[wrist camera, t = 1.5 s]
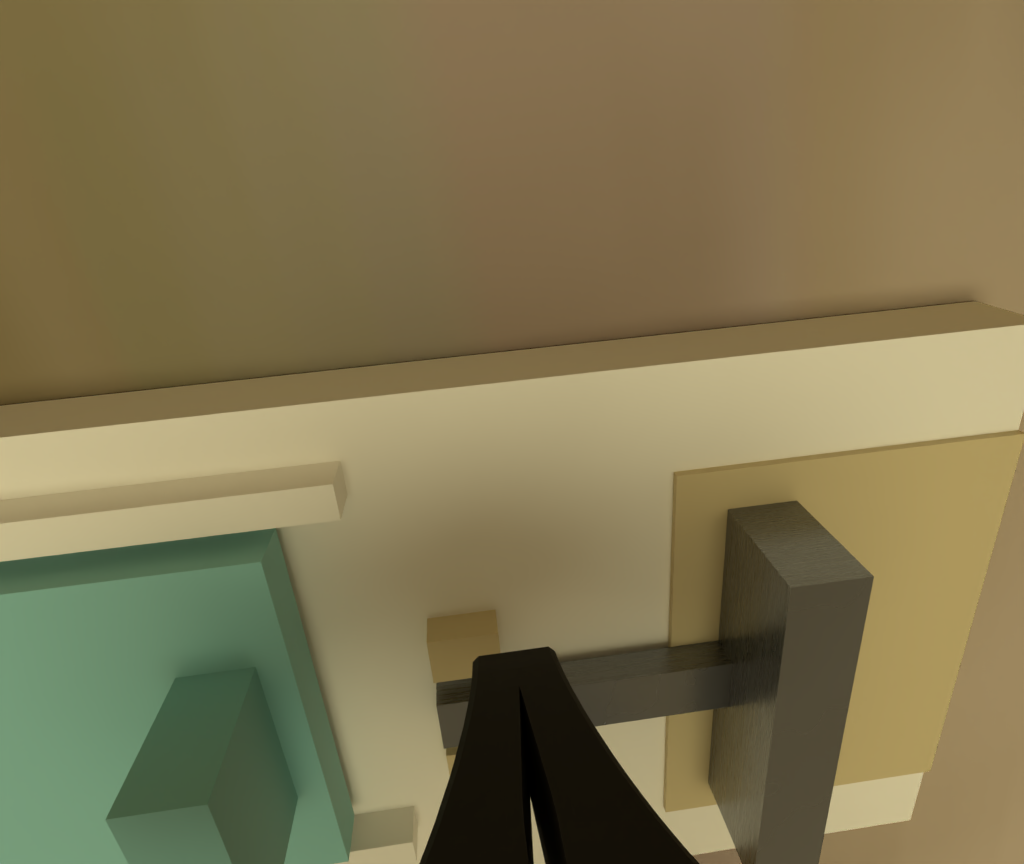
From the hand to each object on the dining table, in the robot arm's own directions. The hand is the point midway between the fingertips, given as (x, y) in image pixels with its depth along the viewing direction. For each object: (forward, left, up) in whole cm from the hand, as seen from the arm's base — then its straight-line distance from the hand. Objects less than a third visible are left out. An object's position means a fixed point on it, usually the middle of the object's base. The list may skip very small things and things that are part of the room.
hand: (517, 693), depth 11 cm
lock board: (-4, +1, -6) cm, 7 cm away
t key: (-4, -3, -4) cm, 6 cm away
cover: (-3, +9, -4) cm, 10 cm away
